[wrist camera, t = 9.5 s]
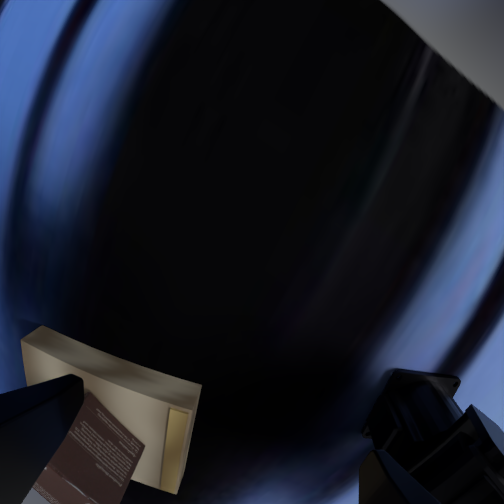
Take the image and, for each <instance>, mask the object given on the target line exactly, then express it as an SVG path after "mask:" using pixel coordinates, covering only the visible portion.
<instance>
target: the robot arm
mask: <svg viewBox="0 0 504 504" xmlns="http://www.w3.org/2000/svg"><path fill="white" fill-rule="evenodd" d="M399 375H401V376H400V377H398V378H396V377H397V376H399ZM460 383H461V381H460V379H459V378H458V377H457V376H448V375H439V374H431V373H423V372H416V371H409V370H402V369H398V370H395V371H394V372H393V373H392V375H391V377H390V379H389V381H388V383H387V385H386V387H385V389H384V391H383V393H382V394H381V395H380V396H379V398H378V399H377V401H376V403H375V405H374V407H373V409H372V411H371V412H370V414H369V416H368V418H367V420H366V421H367V422H366V424H365V426H364V427H363V429H362V431H361V433H362V436H363V437H364V438H370V439H372V440H373V443H374V446H375V450H372V451H371V452H370V453H369V454H368V456H367V457H366V459H365V460H364V462H363V463H362V464H361V466H360V469H359V504H504V432H503V431H502V430H501V429H500V427H499V426H498V425H497V424H496V423H494V422H493V421H492V420H491V419H489V418H488V417H487V416H486V415H485V414H483V413H482V412H481V411H480V410H478V409H477V408H476V407H475V406H473V405H472V404H471V405H470V406H469V407H468V408H467V409H466V410H465V411H466V412H465V413H463V412H462V410H461V409H460V408H459V406H458V405H457V403H456V402H455V400H454V399H453V396H454V395H455V393H456V391H457V389H458V387H459V386H460ZM84 399H85V396H84V381H83V379H82V378H81V377H79V376H76V375H74V374H67V375H64V376H61V377H58V378H54V379H51V380H48V381H45V382H41V383H38V384H34V385H31V386H28V387H24V388H21V389H17V390H13V391H10V392H6V393H3V394H0V504H21V503H22V502H23V500H24V499H25V497H26V496H27V494H28V493H29V491H30V490H31V488H32V487H33V485H34V484H35V482H36V481H37V479H38V478H39V476H40V475H41V473H42V472H43V470H44V469H45V467H46V466H47V464H48V463H49V461H50V460H51V458H52V457H53V455H54V454H55V453H56V451H57V450H58V448H59V447H60V445H61V444H62V442H63V441H64V439H65V437H66V436H67V434H68V432H69V430H70V428H71V426H72V424H73V422H74V420H75V419H76V417H77V415H78V413H79V411H80V409H81V407H82V405H83V403H84ZM367 432H368V433H367Z"/></svg>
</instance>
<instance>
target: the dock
mask: <svg viewBox="0 0 504 504" xmlns="http://www.w3.org/2000/svg"><path fill="white" fill-rule="evenodd" d="M21 347H22V355H23V363H24V369H25V376H26V382H27V387H28V386H31V385H34V384H38V383H41V382H45V381H48V380H51V379H54V378H58V377H61V376H64V375H67V374H74V375H76V376H79V377H81V378H82V379H83V381H84V394H85V393H87V392H91V393H92V394H93V395H94V396H95V397H96V399H97V400H98V401H99V402H100V403H101V404H102V405H103V406H104V407H105V408H106V409H107V410H108V411H109V412H110V413H111V414H112V415H113V416H114V417H115V418H116V419H117V420H118V421H119V422H120V423H121V424H122V425H123V426H124V427H125V428H126V429H127V430H128V431H129V432H131V433H132V434H133V435H134V436H135V437H136V438H137V439H138V440H139V441H140V442H142V443H143V444H144V445H145V448H144V451H143V453H142V456H141V458H140V460H139V462H138V464H137V466H136V469H135V471H134V473H133V475H132V477H131V479H132V480H135V481H138V482H140V483H143V484H146V485H149V486H152V487H155V488H158V489H160V490H164V491H167V492H170V493H173V494H177V492H178V489H179V485H180V482H181V479H182V476H183V473H184V470H185V465H186V460H187V455H188V450H189V445H190V440H191V435H192V430H193V425H194V420H195V416H196V411H197V406H198V401H199V396H200V392H201V387H202V385H200V384H197V383H193V382H190V381H186V380H183V379H180V378H176V377H173V376H170V375H167V374H164V373H161V372H158V371H155V370H152V369H149V368H146V367H143V366H140V365H137V364H134V363H132V362H129V361H126V360H123V359H121V358H118V357H115V356H113V355H110V354H108V353H105V352H103V351H100V350H98V349H95V348H93V347H90V346H88V345H85V344H83V343H81V342H78V341H76V340H74V339H71V338H69V337H67V336H65V335H62V334H60V333H58V332H56V331H54V330H52V329H49V328H47V327H45V326H43V325H42V326H40V327H39V328H37V329H36V330H34V331H33V332H31V333H30V334H28V335H27V336H25V337H24V338H22V339H21Z"/></svg>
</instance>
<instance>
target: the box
mask: <svg viewBox="0 0 504 504" xmlns="http://www.w3.org/2000/svg"><path fill="white" fill-rule="evenodd" d="M84 396H85V399H84V403H83V405H82V407H81V409H80V411H79V413H78V415H77V417H76V419H75V420H74V422H73V424H72V426H71V428H70V430H69V432H68V434H67V436H66V437H65V439H64V441H63V442H62V444H61V445H60V447H59V448H58V450H57V451H56V453H55V454H54V455H53V457H52V458H51V460H50V461H49V463H48V464H47V466H46V467H45V469H44V470H43V472H42V473H41V475H40V476H39V478H38V479H37V481H36V482H35V484H34V485H33V488H34V489H35V490H36V491H37V492H38V493H39V494H40V495H41V496H43V497H44V498H45V499H46V500H47V501H49V502H50V503H51V504H120V502H121V500H122V497H123V495H124V493H125V490H126V488H127V486H128V484H129V481H130V479H131V477H132V475H133V473H134V471H135V469H136V466H137V464H138V462H139V460H140V458H141V456H142V453H143V451H144V448H145V445H144V444H143V443H142V442H140V441H139V440H138V439H137V438H136V437H135V436H134V435H133V434H132V433H131V432H129V431H128V430H127V429H126V428H125V427H124V426H123V425H122V424H121V423H120V422H119V421H118V420H117V419H116V418H115V417H114V416H113V415H112V414H111V413H110V412H109V411H108V410H107V409H106V408H105V407H104V406H103V405H102V404H101V403H100V402H99V401H98V400H97V399H96V397H95V396H94V395H93V394H92V393H91V392H87V393H85V394H84Z"/></svg>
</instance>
